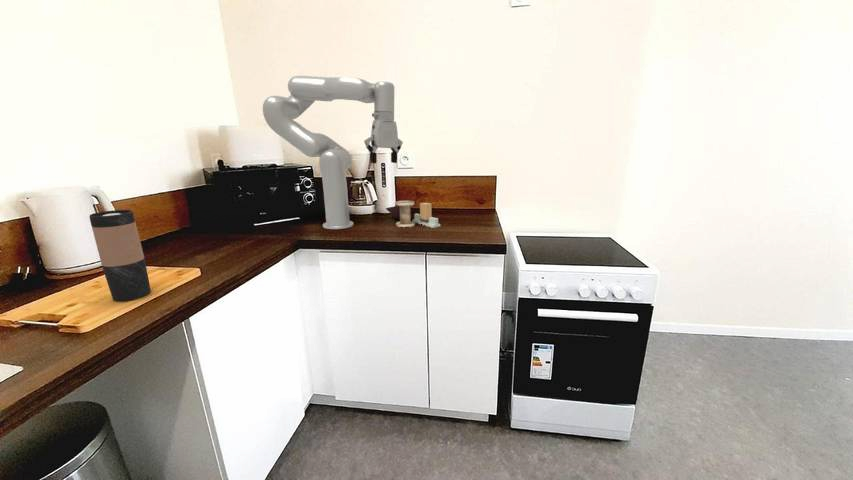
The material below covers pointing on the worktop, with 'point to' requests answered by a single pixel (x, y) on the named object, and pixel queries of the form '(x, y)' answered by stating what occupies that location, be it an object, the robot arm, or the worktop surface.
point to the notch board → (432, 223)
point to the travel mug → (121, 254)
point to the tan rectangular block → (425, 212)
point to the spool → (405, 214)
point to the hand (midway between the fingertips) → (384, 162)
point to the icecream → (394, 211)
